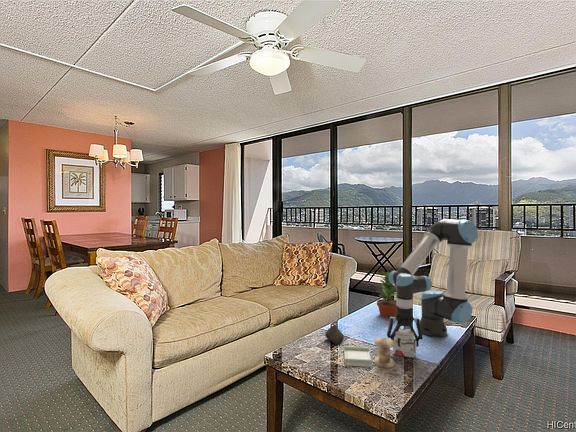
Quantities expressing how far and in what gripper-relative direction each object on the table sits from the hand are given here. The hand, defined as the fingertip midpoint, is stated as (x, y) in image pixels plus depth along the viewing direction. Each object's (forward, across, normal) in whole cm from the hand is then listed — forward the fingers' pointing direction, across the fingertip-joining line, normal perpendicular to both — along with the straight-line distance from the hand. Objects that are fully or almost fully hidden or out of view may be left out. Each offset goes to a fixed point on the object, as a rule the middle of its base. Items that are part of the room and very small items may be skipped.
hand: (404, 352), depth 158 cm
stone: (+1, +34, -12) cm, 36 cm away
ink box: (+1, 0, 0) cm, 1 cm away
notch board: (+1, +23, +7) cm, 24 cm away
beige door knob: (+1, +11, +10) cm, 15 cm away
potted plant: (+1, -2, -57) cm, 57 cm away
